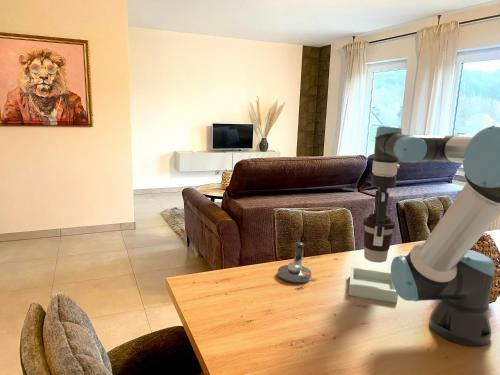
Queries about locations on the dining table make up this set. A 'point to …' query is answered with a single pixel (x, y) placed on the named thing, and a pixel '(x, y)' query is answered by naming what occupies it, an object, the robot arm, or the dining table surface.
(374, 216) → the coffee cup
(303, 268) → the grey round base
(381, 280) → the tray
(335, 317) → the dining table surface
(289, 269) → the crank
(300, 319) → the dining table surface
